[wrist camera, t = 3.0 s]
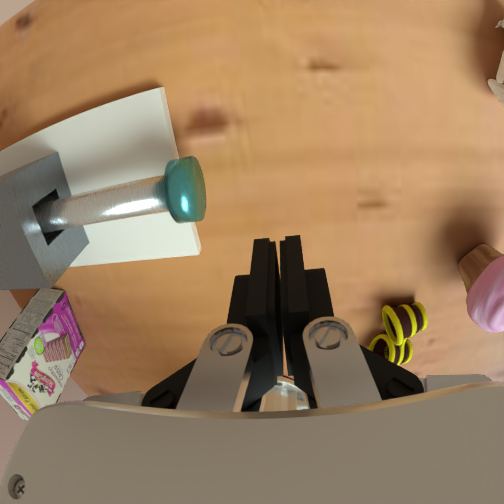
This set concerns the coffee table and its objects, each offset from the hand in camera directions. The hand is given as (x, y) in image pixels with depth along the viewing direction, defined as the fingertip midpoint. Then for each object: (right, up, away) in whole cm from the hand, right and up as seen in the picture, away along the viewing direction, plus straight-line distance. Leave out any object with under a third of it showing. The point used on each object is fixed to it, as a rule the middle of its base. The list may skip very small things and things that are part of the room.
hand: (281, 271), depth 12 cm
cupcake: (+25, 0, +18) cm, 31 cm away
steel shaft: (-16, +6, +14) cm, 22 cm away
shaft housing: (-25, +6, +17) cm, 31 cm away
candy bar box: (-28, -9, +27) cm, 41 cm away
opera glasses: (+17, -8, +24) cm, 30 cm away
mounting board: (-20, +7, +17) cm, 27 cm away
